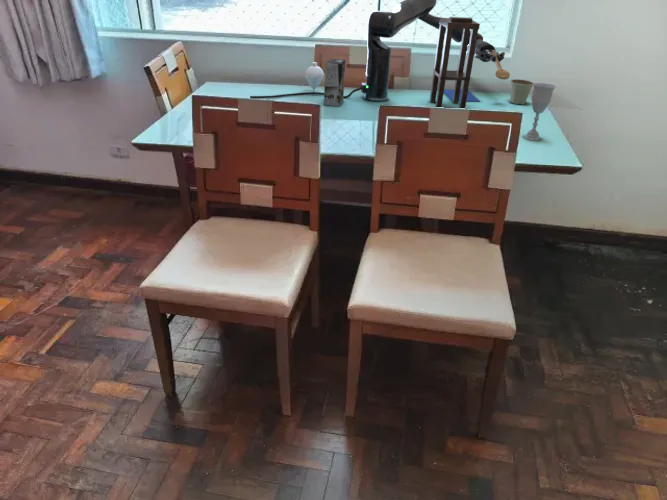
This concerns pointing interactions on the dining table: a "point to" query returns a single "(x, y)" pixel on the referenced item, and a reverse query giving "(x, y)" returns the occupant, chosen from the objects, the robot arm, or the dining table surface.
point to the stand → (459, 74)
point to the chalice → (539, 105)
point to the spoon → (500, 69)
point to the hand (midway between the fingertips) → (497, 59)
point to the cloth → (469, 96)
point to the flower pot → (520, 91)
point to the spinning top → (314, 75)
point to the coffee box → (334, 82)
